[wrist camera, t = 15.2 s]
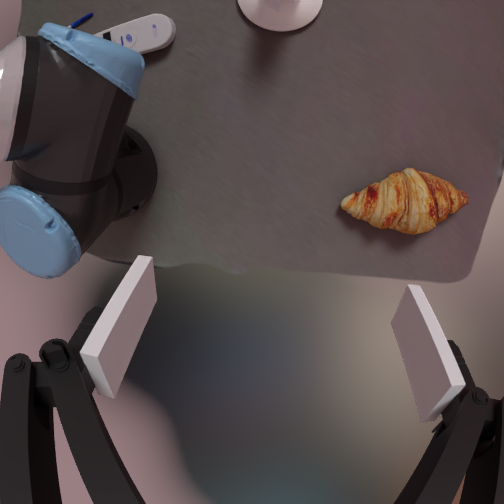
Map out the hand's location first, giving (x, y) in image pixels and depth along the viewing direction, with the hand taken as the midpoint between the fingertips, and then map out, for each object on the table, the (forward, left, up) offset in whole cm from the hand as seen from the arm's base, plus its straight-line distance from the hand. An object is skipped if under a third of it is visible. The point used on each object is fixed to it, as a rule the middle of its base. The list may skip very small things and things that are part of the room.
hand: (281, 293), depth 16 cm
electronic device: (-23, +15, -32) cm, 42 cm away
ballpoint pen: (-34, +19, -32) cm, 50 cm away
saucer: (-2, +22, -32) cm, 39 cm away
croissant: (+20, -4, -32) cm, 38 cm away
